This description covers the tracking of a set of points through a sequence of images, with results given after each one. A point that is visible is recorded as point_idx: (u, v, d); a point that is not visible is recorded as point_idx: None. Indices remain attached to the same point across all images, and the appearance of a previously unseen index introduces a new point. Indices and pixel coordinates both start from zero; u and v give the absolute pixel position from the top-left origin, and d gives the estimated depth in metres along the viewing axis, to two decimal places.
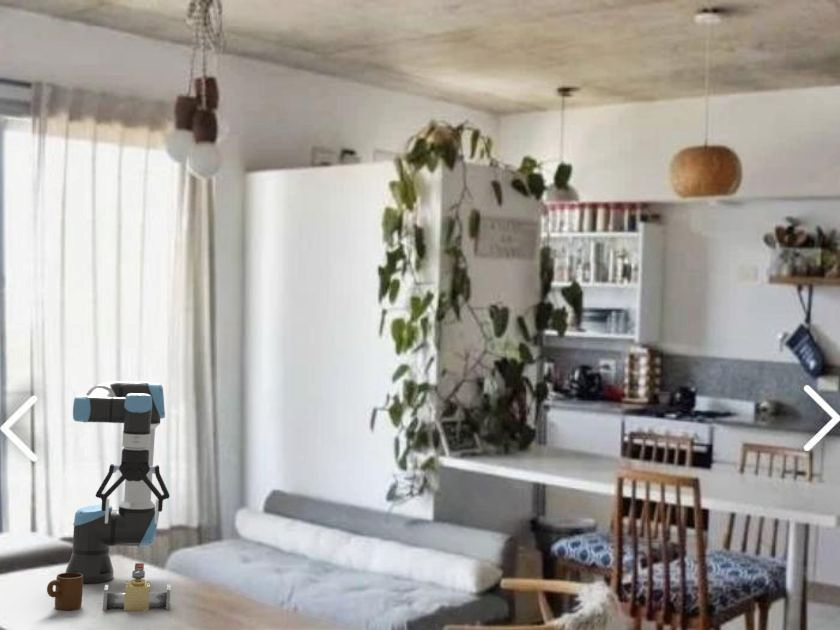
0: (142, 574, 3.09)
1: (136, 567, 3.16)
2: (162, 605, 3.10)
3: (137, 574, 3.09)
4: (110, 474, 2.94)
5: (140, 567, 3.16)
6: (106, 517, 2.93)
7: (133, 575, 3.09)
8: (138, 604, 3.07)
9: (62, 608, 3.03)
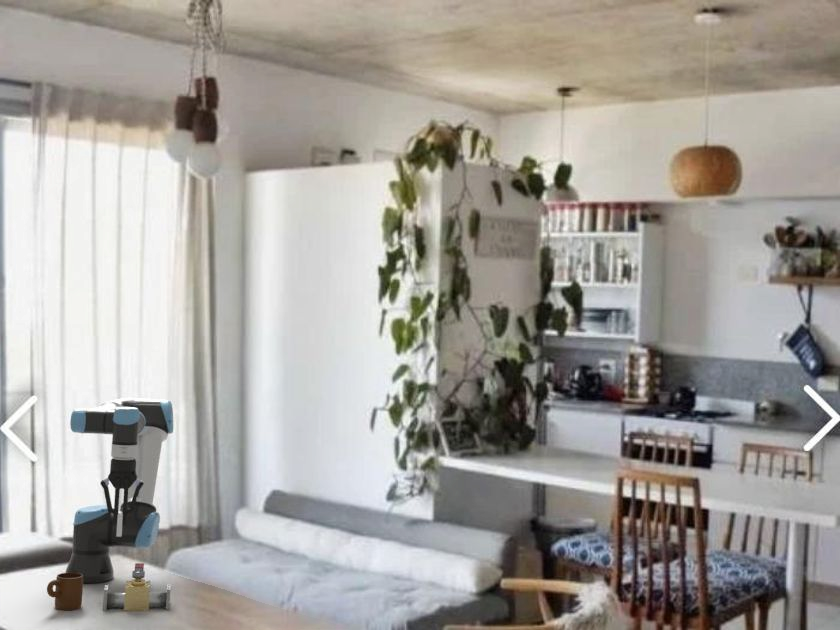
0: (142, 574, 3.09)
1: (136, 567, 3.16)
2: (162, 605, 3.10)
3: (137, 574, 3.09)
4: (105, 488, 3.14)
5: (140, 567, 3.16)
6: (117, 531, 3.15)
7: (133, 575, 3.09)
8: (138, 604, 3.07)
9: (62, 608, 3.03)
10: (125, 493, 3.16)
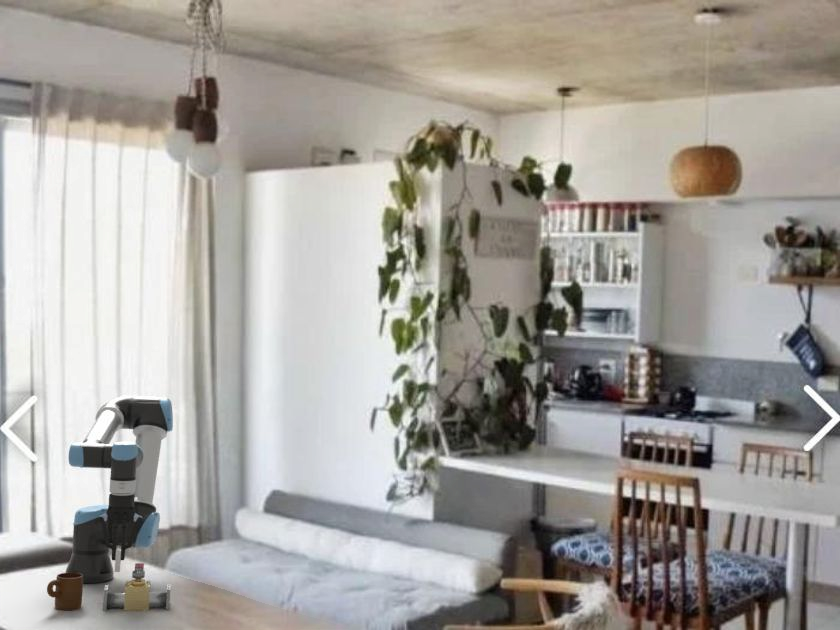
0: (142, 574, 3.09)
1: (136, 567, 3.16)
2: (162, 605, 3.10)
3: (137, 574, 3.09)
4: (103, 524, 3.15)
5: (140, 567, 3.16)
6: (116, 566, 3.15)
7: (133, 575, 3.09)
8: (138, 604, 3.07)
9: (62, 608, 3.03)
10: (123, 528, 3.16)
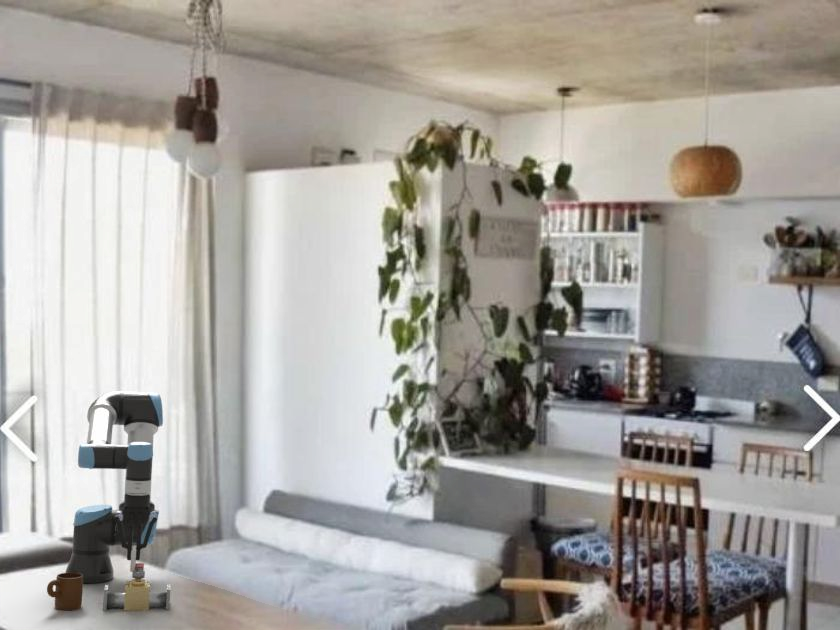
0: (142, 574, 3.09)
1: (136, 567, 3.16)
2: (162, 605, 3.10)
3: (137, 574, 3.09)
4: (119, 523, 3.16)
5: (140, 567, 3.16)
6: (131, 566, 3.16)
7: (133, 575, 3.09)
8: (138, 604, 3.07)
9: (62, 608, 3.03)
10: (139, 528, 3.17)
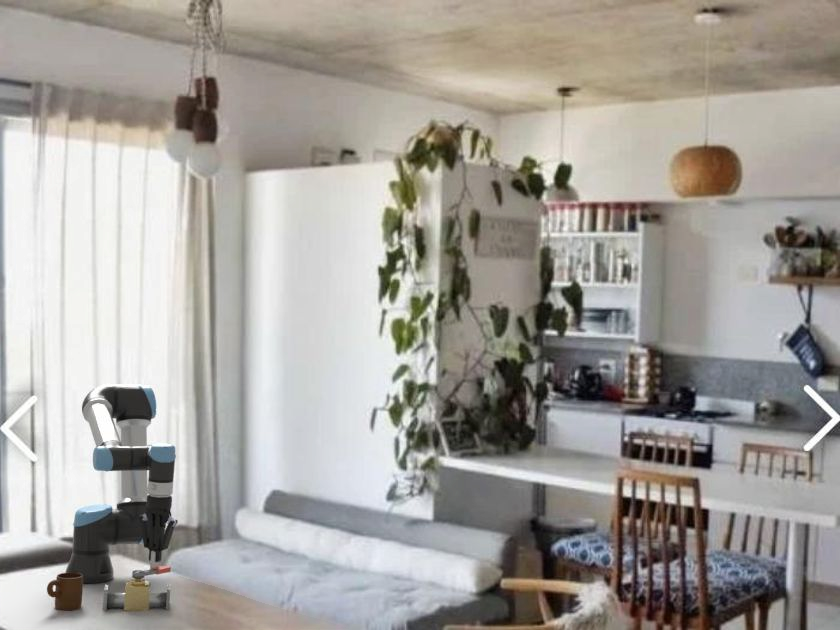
0: (137, 574, 3.09)
1: (153, 568, 3.16)
2: (162, 605, 3.10)
3: (133, 573, 3.09)
4: (142, 523, 3.18)
5: (155, 569, 3.15)
6: (151, 567, 3.17)
7: None
8: (138, 604, 3.07)
9: (62, 608, 3.03)
10: (157, 530, 3.16)
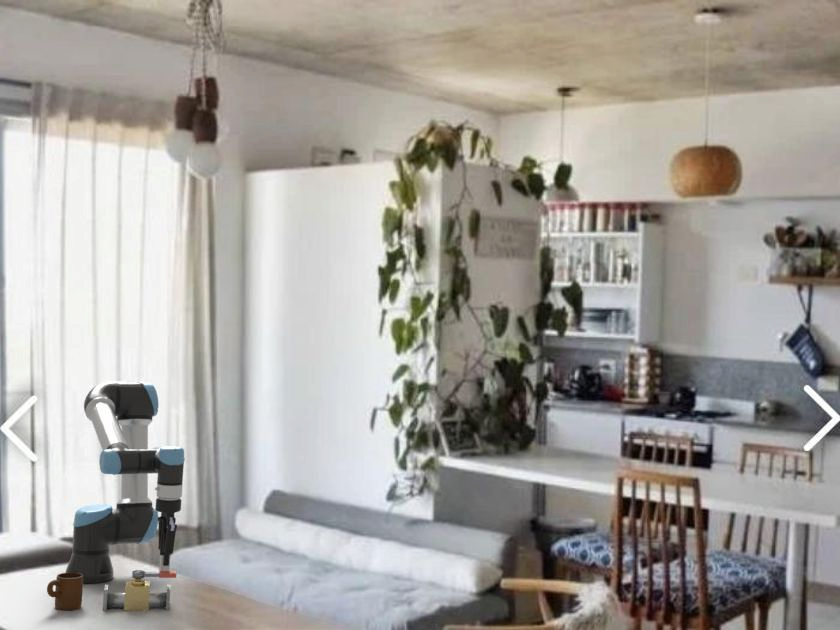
0: (133, 574, 3.09)
1: (159, 571, 3.13)
2: (162, 605, 3.10)
3: None
4: (159, 525, 3.19)
5: (159, 572, 3.12)
6: (159, 570, 3.15)
7: None
8: (138, 604, 3.07)
9: (62, 608, 3.03)
10: (163, 533, 3.14)
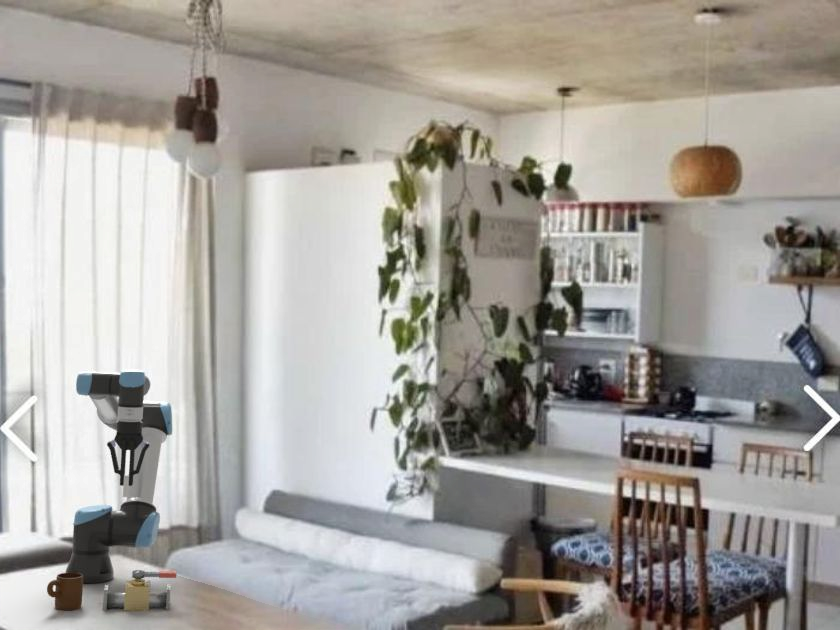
0: (133, 574, 3.09)
1: (159, 571, 3.13)
2: (162, 605, 3.10)
3: None
4: (112, 449, 3.19)
5: (159, 572, 3.12)
6: (124, 491, 3.20)
7: None
8: (138, 604, 3.07)
9: (62, 608, 3.03)
10: (131, 454, 3.20)
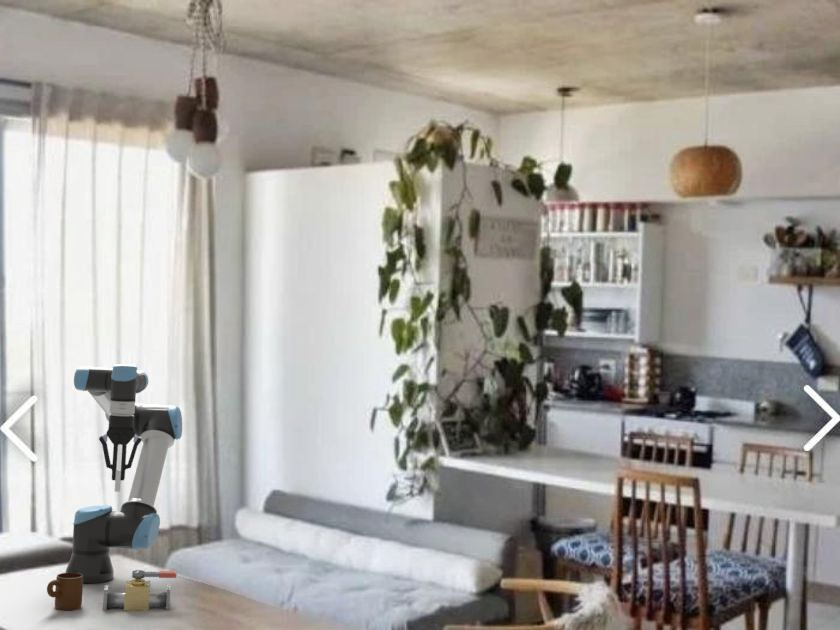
0: (133, 574, 3.09)
1: (159, 571, 3.13)
2: (162, 605, 3.10)
3: None
4: (104, 444, 3.19)
5: (159, 572, 3.12)
6: (116, 486, 3.20)
7: None
8: (138, 604, 3.07)
9: (62, 608, 3.03)
10: (123, 449, 3.21)
